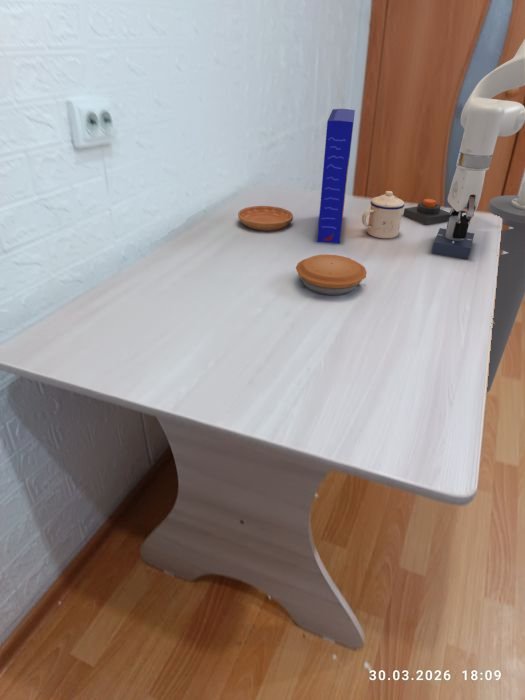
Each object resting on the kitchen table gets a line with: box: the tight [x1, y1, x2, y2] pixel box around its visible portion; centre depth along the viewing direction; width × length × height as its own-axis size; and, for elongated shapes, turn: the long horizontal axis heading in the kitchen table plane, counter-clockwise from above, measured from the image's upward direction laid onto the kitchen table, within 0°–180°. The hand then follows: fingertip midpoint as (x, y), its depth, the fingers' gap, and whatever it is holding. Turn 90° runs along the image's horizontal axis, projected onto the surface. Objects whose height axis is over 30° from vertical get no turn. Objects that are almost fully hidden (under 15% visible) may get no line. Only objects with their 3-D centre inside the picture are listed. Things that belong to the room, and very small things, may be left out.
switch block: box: [402, 201, 450, 226], centre depth 147 cm, size 10×10×4 cm
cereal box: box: [316, 108, 356, 244], centre depth 129 cm, size 22×6×30 cm, turn 170°
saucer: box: [237, 205, 294, 232], centre depth 140 cm, size 16×16×3 cm
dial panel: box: [431, 227, 475, 260], centre depth 126 cm, size 12×9×3 cm
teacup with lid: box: [361, 190, 405, 239], centre depth 132 cm, size 12×9×12 cm
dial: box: [445, 215, 464, 241], centre depth 124 cm, size 5×5×5 cm
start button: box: [423, 198, 437, 207], centre depth 145 cm, size 4×4×2 cm
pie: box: [295, 253, 367, 296], centre depth 106 cm, size 15×16×5 cm
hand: (455, 233), depth 125 cm, fingers closed on dial, 4 cm apart
